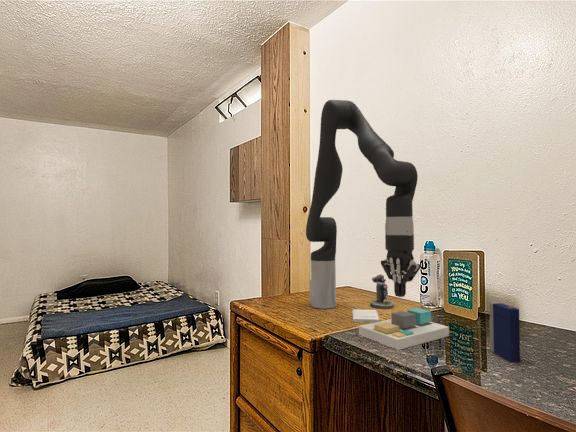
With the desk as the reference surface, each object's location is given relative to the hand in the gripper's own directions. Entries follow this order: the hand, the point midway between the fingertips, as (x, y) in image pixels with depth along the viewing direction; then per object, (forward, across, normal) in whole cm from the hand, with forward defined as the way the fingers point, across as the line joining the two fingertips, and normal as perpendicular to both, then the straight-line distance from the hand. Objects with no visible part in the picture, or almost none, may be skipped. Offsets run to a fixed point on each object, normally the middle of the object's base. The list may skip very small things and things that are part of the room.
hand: (400, 296), depth 99 cm
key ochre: (+10, 0, -5) cm, 11 cm away
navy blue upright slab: (+11, +23, +9) cm, 27 cm away
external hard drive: (+12, -20, +5) cm, 24 cm away
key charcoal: (+8, 0, +1) cm, 8 cm away
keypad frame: (+11, 0, +1) cm, 11 cm away
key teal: (+8, 0, +7) cm, 11 cm away
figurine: (+11, -29, +20) cm, 37 cm away
